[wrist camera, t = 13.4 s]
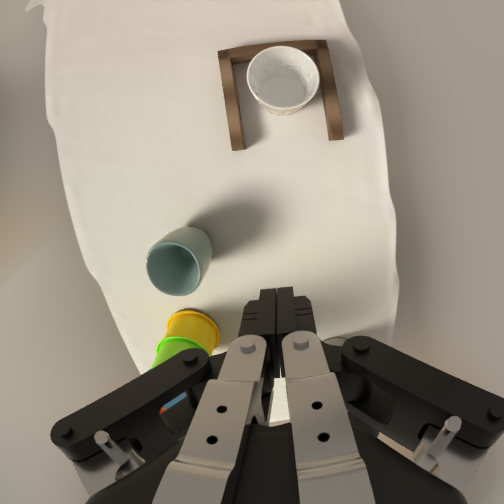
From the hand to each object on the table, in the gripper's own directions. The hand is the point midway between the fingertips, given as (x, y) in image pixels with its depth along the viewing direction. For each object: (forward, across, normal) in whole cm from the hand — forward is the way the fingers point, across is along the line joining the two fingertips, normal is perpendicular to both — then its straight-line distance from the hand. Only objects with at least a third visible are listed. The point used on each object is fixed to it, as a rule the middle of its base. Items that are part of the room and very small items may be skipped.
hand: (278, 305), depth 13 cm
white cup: (+29, -3, -16) cm, 33 cm away
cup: (+29, +14, +5) cm, 33 cm away
